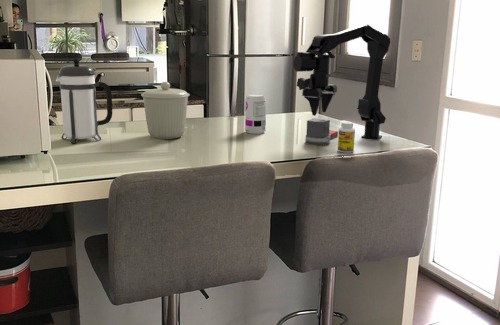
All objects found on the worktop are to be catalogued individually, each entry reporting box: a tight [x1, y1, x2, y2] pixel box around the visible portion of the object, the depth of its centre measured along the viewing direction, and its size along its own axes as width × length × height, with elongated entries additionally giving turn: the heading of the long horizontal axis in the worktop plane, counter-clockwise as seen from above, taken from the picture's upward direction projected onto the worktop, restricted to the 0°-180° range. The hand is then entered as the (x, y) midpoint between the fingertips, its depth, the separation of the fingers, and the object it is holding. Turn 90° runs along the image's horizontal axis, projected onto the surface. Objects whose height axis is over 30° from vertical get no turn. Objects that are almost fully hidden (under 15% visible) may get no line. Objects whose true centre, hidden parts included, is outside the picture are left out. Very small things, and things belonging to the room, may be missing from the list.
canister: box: [140, 81, 191, 140], centre depth 208 cm, size 18×18×21 cm
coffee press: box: [55, 57, 113, 145], centre depth 200 cm, size 17×16×30 cm
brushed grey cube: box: [305, 117, 331, 139], centre depth 203 cm, size 6×6×6 cm
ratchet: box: [304, 129, 339, 146], centre depth 208 cm, size 20×9×6 cm, turn 150°
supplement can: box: [244, 93, 267, 135], centre depth 220 cm, size 8×8×15 cm
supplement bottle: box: [337, 121, 356, 154], centre depth 189 cm, size 6×6×10 cm
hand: (319, 113), depth 201 cm, fingers open, 9 cm apart
